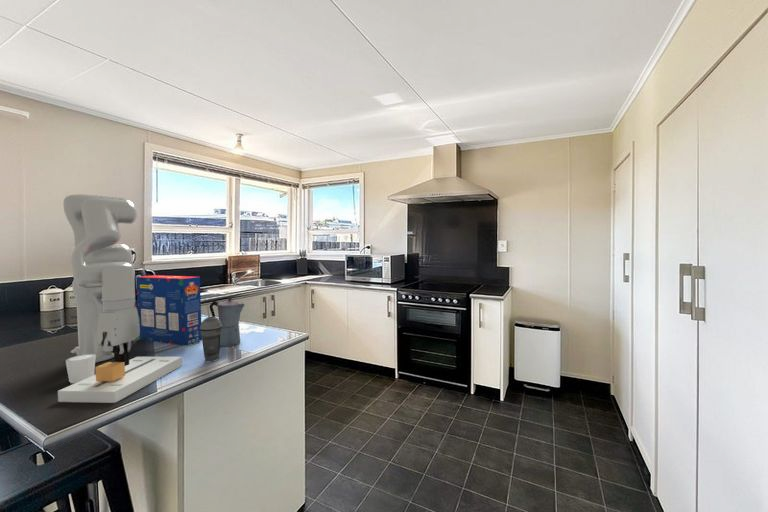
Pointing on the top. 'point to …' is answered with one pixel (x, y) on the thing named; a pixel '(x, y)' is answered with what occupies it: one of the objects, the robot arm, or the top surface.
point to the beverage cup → (211, 337)
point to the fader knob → (110, 371)
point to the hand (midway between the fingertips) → (122, 365)
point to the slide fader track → (120, 381)
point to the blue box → (169, 309)
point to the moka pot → (229, 320)
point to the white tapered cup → (80, 367)
